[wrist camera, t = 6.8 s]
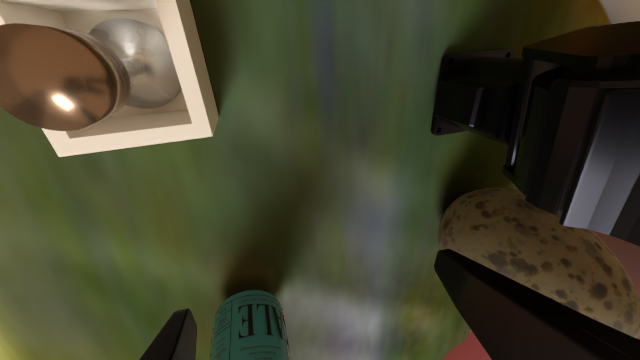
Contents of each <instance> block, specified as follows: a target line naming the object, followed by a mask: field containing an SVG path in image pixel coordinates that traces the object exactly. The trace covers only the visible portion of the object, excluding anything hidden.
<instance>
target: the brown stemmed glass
mask: <svg viewBox="0 0 640 360" xmlns="http://www.w3.org/2000/svg"><path fill="white" fill-rule="evenodd" d="M181 89H182V88H181V85H180V82H179V79H178V75H177V72H176V69H175V65H174V62H173V59H172V56H171V52H170V49H169V46H168V43H167V39H166V36H165V35H163V34H162V33H161V32H160V31H158V30H157V29H155V28H154V27H152V26H150V25H148V24H145V23H143V22H140V21H136V20H133V19H127V18H112V19H108V20H105V21H103V22H100V23H99V24H97V25H96V26H95V27H94V28H93V29H92V30H91V31H90V32H89V34H86V33H84V32H81V31H77V30H73V29H66V28H57V27H48V26H40V25H31V24H23V23H11V24H4V25H0V106H1V107H2V108H3V109H5V110H6V111H7V112H9V113H10V114H12V115H13V116H15V117H16V118H18V119H20V120H22V121H24V122H26V123H29V124H31V125H34V126H37V127H40V128H44V129H48V130H54V131H74V130H79V129H82V128H85V127H88V126H90V125H92V124H94V123H96V122H98V121H100V120H102V119H104V118H105V117H107V116H109V115H111V114H113V113H115V112H117V111H119V110H120V109H121V108H122V107H123V106H124V105H128V106H131V107H135V108H141V109H152V108H158V107H161V106H163V105H165V104H167V103H169V102H170V101H172V100H173V99H174V98H175V97H176V96H177V95H178V94H179V92H180V90H181Z"/></svg>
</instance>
